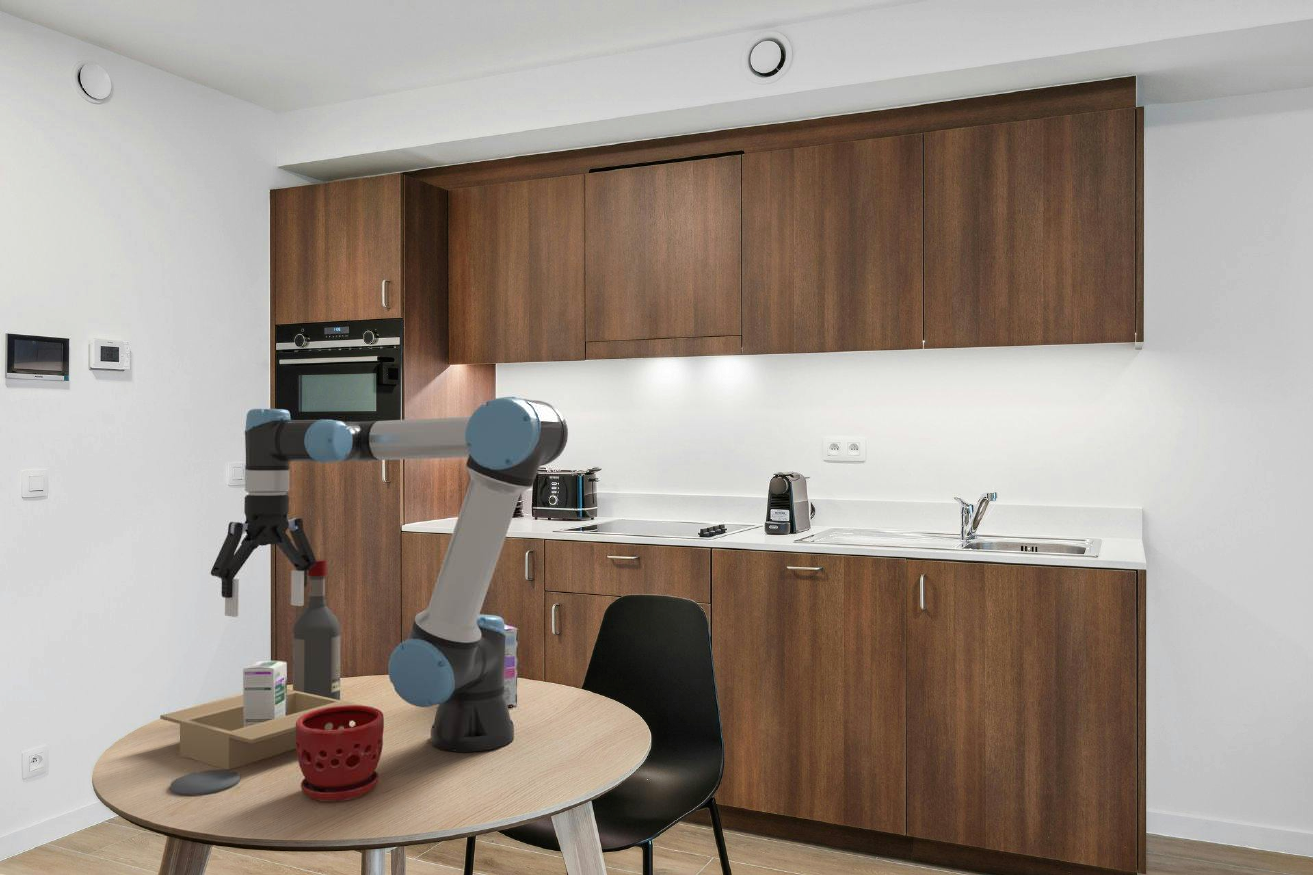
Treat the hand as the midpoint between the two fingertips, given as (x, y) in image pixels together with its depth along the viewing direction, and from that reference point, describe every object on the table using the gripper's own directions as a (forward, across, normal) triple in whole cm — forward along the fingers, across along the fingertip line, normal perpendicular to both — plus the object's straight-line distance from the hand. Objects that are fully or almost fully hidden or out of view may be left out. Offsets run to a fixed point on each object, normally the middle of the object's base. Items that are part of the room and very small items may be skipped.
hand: (265, 610), depth 172 cm
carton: (+24, 0, 0) cm, 24 cm away
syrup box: (+24, 0, 0) cm, 24 cm away
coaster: (+24, +18, +10) cm, 32 cm away
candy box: (+24, -44, +15) cm, 53 cm away
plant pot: (+24, +9, +31) cm, 41 cm away
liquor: (+24, -23, -15) cm, 37 cm away
